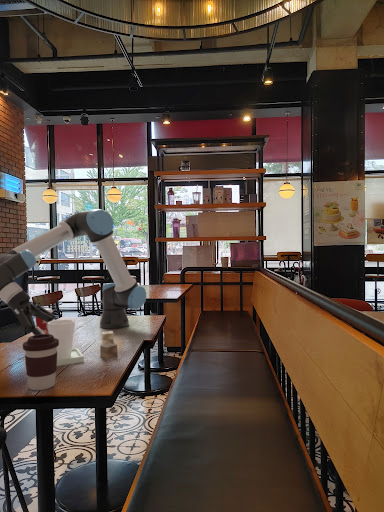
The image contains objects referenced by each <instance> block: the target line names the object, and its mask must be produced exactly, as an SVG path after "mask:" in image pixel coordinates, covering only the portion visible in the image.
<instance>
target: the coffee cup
mask: <svg viewBox="0 0 384 512" xmlns="http://www.w3.org/2000/svg"><path fill="white" fill-rule="evenodd" d="M58 345H59V340H58V339H56V338H54V336H53V335H51V334H39V335H34V334H33V335H31V336H29V337H28V338H27V341H24V342H23V343H22V350H23V351H24V353H25V355H24V358H25V359H24V360H25V370H26V371H25V372H26V376H27V383H28V384H27V385H28V388H29V389H30V390H31V391H43V390H48V389H51V388H53V387H55V385H56V372H57V368H58V366H57V346H58Z"/></svg>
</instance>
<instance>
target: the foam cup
mask: <svg viewBox="0 0 384 512" xmlns="http://www.w3.org/2000/svg"><path fill="white" fill-rule="evenodd" d="M75 323H76V322H75V320H74V319H69V318H68V319H55V320H54V321H50V322H48V323H47V327H48V332H49V334H51V335H53V336H54V338H56V339H58V340H59V345H58V346H57V359H66V358H69V357H71V351H72V349H73V341H74V331H75V327H76V326H75V325H76V324H75Z"/></svg>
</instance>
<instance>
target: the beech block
mask: <svg viewBox="0 0 384 512" xmlns="http://www.w3.org/2000/svg"><path fill="white" fill-rule="evenodd" d="M101 335H102V336H101V337H102V339H101V340H102V341H101V342H102V345H104V344H109V343H112V344H115V343H114V341H115V340H114V337H115V336H114V331H113V330H108V331H102V332H101Z"/></svg>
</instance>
